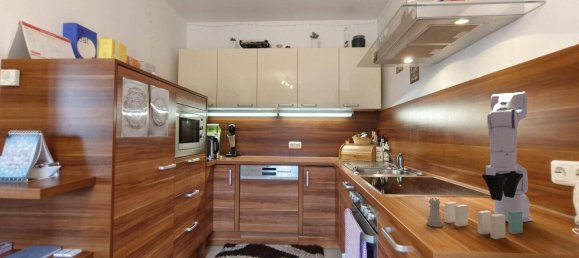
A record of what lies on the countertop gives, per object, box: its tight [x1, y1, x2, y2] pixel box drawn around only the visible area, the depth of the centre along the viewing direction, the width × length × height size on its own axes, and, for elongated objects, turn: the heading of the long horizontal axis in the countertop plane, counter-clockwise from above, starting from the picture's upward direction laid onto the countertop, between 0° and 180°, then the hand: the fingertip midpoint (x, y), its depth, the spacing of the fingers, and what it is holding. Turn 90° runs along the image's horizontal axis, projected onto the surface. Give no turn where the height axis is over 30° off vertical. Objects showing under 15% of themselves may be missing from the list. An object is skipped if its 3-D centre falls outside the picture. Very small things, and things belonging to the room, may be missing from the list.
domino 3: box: [476, 210, 493, 235], centre depth 75 cm, size 4×1×6 cm, turn 109°
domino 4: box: [490, 214, 506, 240], centre depth 71 cm, size 4×1×6 cm, turn 109°
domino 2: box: [454, 204, 469, 227], centre depth 81 cm, size 4×1×6 cm, turn 109°
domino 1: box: [444, 201, 458, 224], centre depth 85 cm, size 4×1×6 cm, turn 109°
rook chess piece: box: [426, 197, 444, 228], centre depth 81 cm, size 4×4×8 cm
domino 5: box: [508, 210, 524, 235], centre depth 75 cm, size 4×1×6 cm, turn 109°
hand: (503, 198), depth 76 cm, fingers open, 7 cm apart
